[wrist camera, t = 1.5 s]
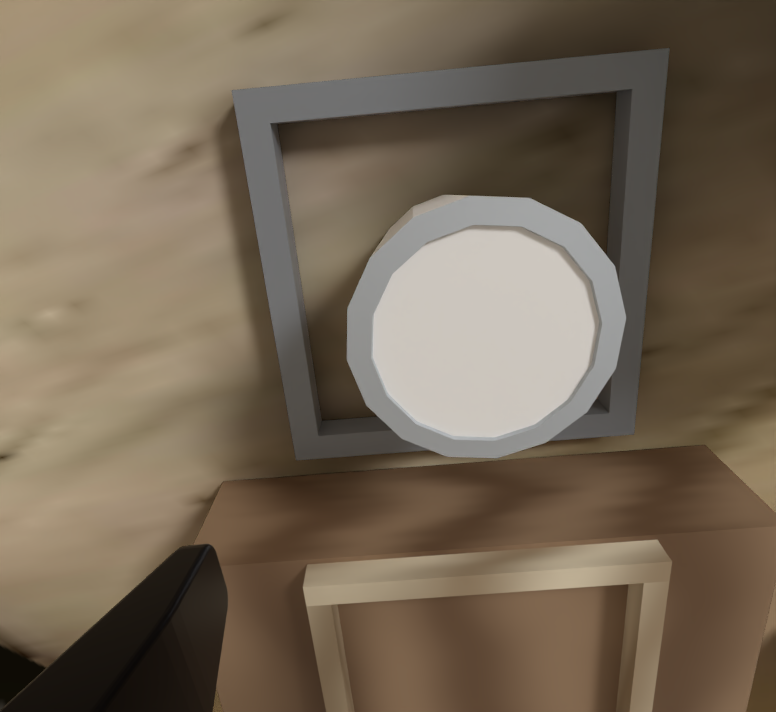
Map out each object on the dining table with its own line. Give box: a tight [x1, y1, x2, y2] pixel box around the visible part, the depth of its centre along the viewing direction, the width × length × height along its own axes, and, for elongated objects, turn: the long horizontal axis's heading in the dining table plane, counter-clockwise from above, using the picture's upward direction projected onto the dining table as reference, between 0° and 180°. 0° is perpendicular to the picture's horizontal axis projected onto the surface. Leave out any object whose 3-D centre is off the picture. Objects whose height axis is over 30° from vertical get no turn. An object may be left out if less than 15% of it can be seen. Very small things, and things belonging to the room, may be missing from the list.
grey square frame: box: [232, 48, 670, 460], centre depth 19 cm, size 13×13×1 cm
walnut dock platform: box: [193, 445, 776, 712], centre depth 22 cm, size 20×12×6 cm, turn 95°
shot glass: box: [347, 195, 626, 458], centre depth 17 cm, size 7×7×7 cm
